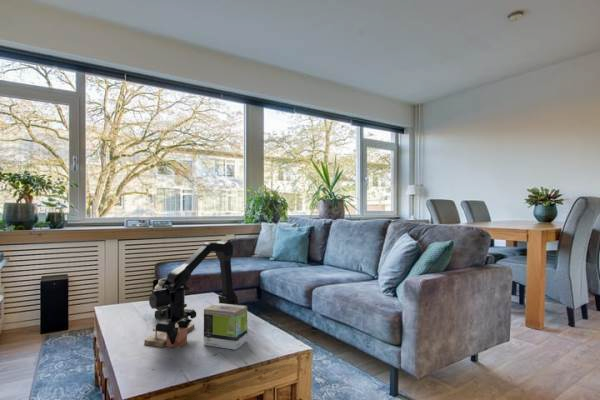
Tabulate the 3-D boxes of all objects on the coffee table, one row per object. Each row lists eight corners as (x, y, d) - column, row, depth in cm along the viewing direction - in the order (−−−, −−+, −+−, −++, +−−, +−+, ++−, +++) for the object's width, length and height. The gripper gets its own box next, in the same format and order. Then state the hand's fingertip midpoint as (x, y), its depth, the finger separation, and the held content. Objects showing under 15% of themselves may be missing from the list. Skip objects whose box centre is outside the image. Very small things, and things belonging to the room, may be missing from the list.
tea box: (248, 340, 139) (248, 305, 139) (235, 351, 130) (235, 312, 130) (216, 336, 144) (216, 301, 144) (202, 345, 134) (202, 308, 135)
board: (194, 328, 152) (194, 324, 152) (163, 347, 132) (163, 342, 132) (177, 326, 155) (177, 322, 155) (144, 344, 135) (144, 339, 135)
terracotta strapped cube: (186, 342, 137) (187, 328, 137) (179, 347, 132) (179, 332, 132) (158, 338, 141) (158, 324, 141) (149, 343, 136) (149, 328, 136)
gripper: (174, 294, 147) (174, 330, 146) (143, 307, 129) (143, 348, 129) (197, 297, 143) (196, 333, 143) (168, 310, 125) (167, 352, 125)
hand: (176, 341), depth 135 cm, fingers closed on terracotta strapped cube, 5 cm apart
